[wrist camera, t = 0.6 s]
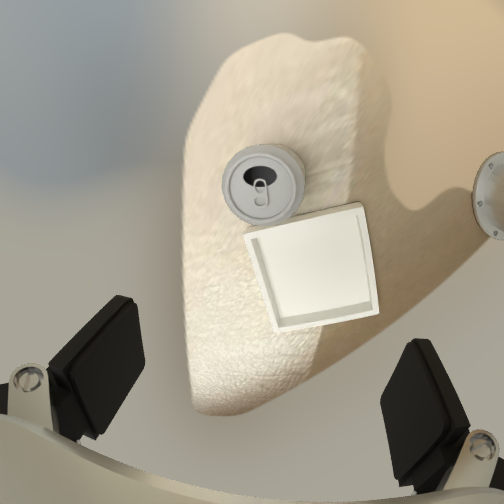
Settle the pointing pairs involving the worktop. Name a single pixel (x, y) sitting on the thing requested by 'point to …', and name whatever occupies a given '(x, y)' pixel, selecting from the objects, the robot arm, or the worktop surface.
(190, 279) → the worktop surface
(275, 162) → the can
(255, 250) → the tray
